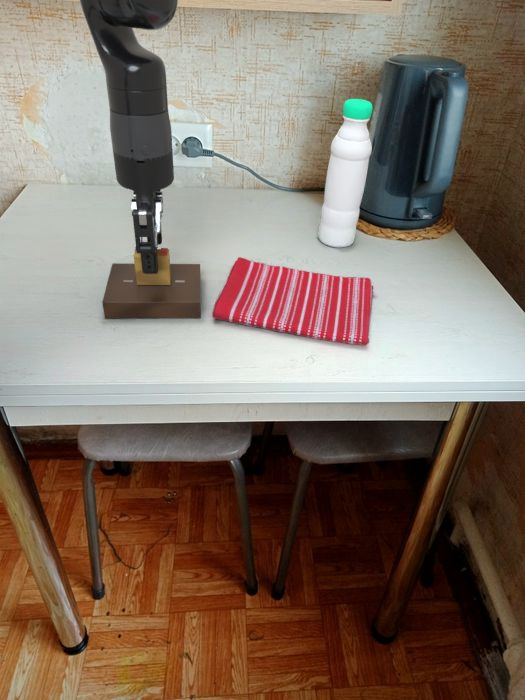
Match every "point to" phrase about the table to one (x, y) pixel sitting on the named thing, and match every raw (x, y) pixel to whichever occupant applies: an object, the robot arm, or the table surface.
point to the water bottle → (346, 175)
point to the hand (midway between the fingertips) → (152, 257)
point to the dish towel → (297, 302)
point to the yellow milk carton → (163, 269)
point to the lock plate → (153, 294)
